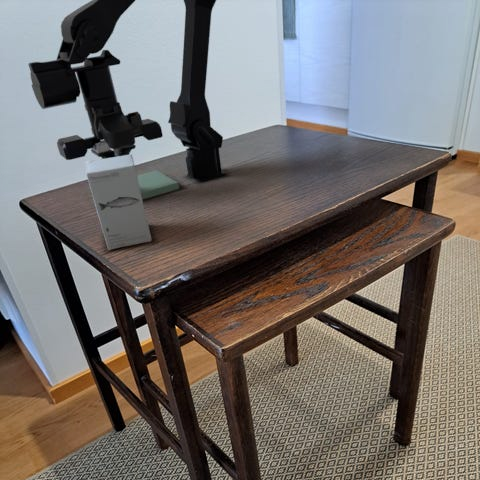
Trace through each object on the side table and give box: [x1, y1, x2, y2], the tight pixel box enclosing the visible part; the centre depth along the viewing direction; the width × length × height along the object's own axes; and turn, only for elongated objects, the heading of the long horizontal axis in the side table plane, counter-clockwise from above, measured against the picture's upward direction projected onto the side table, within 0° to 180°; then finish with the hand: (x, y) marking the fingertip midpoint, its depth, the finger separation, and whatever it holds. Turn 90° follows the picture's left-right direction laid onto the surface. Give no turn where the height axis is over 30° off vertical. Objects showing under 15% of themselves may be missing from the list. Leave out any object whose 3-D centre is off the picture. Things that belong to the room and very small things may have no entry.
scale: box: [137, 170, 180, 200], centre depth 94 cm, size 14×13×3 cm
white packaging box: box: [85, 153, 153, 251], centre depth 72 cm, size 7×7×13 cm
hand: (122, 183), depth 89 cm, fingers closed, pressing on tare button
